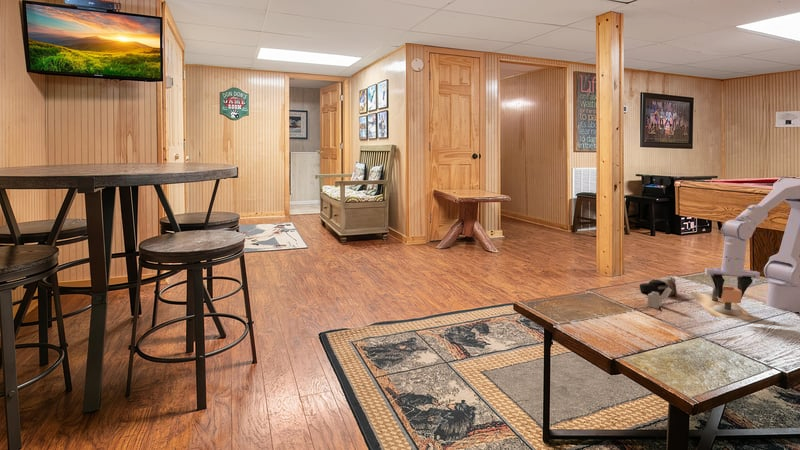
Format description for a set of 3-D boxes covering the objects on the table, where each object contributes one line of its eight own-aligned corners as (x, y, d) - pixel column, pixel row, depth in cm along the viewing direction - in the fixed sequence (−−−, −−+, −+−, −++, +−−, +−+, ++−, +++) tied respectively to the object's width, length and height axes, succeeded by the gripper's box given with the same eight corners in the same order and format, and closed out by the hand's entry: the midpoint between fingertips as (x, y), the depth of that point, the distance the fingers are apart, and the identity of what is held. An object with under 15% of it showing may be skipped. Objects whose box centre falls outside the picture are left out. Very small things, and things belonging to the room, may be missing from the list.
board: (726, 298, 162) (728, 283, 161) (756, 322, 139) (759, 306, 139) (688, 295, 166) (690, 281, 165) (712, 318, 143) (714, 302, 142)
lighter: (646, 305, 155) (648, 283, 154) (649, 304, 156) (651, 282, 155) (667, 312, 149) (669, 289, 148) (670, 311, 150) (672, 288, 149)
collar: (734, 298, 148) (735, 286, 147) (740, 303, 143) (742, 291, 142) (716, 297, 149) (717, 285, 149) (722, 301, 144) (723, 290, 144)
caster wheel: (638, 296, 174) (667, 293, 171) (647, 299, 162) (679, 297, 160) (635, 278, 174) (665, 275, 172) (645, 280, 163) (676, 277, 160)
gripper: (754, 255, 145) (749, 295, 148) (703, 253, 149) (699, 292, 152) (765, 261, 139) (759, 302, 141) (711, 258, 143) (706, 298, 145)
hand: (728, 297), depth 146 cm, fingers closed on collar, 5 cm apart
